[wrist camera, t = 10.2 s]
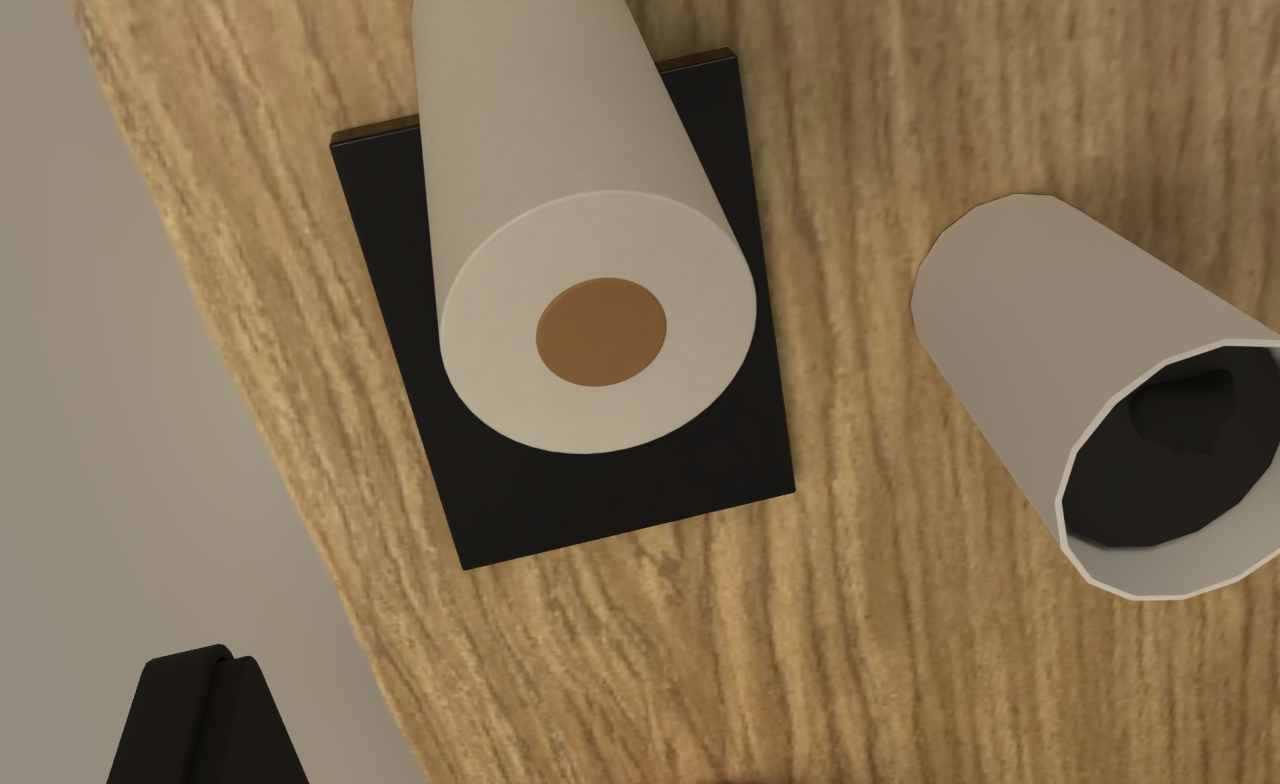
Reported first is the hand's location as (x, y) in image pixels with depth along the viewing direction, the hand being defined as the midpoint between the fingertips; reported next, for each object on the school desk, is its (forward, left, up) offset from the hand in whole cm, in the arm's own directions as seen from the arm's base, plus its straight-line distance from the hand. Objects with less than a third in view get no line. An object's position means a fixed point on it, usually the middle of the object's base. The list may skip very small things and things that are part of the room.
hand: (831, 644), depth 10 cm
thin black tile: (+7, -1, -22) cm, 23 cm away
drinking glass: (+9, +11, -22) cm, 27 cm away
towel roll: (+2, -1, -15) cm, 15 cm away
